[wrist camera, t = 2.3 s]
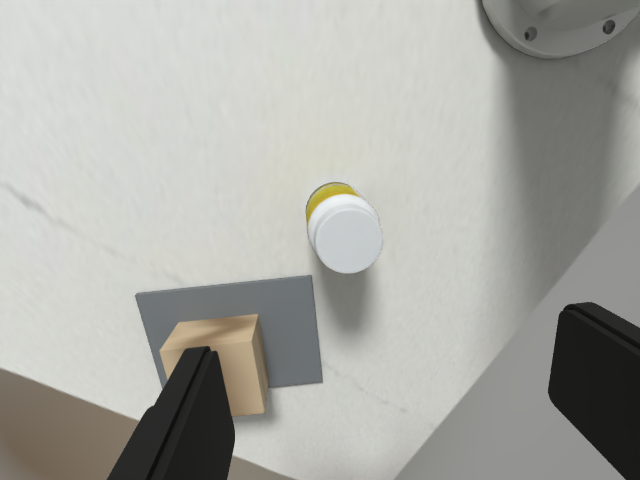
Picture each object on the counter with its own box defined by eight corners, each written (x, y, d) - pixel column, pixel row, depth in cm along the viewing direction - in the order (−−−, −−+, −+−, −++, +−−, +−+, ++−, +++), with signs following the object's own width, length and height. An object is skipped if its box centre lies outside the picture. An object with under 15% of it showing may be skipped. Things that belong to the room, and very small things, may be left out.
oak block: (258, 314, 29) (251, 341, 25) (269, 378, 31) (264, 413, 27) (178, 322, 29) (159, 351, 25) (194, 387, 31) (179, 422, 27)
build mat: (311, 275, 28) (311, 277, 28) (322, 378, 32) (322, 381, 31) (137, 293, 28) (134, 295, 28) (167, 395, 31) (165, 398, 31)
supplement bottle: (294, 217, 27) (291, 251, 19) (328, 169, 26) (340, 184, 18) (341, 248, 28) (357, 294, 20) (375, 203, 27) (407, 232, 19)
